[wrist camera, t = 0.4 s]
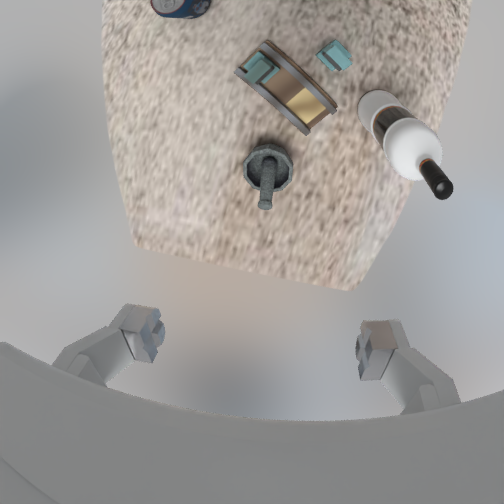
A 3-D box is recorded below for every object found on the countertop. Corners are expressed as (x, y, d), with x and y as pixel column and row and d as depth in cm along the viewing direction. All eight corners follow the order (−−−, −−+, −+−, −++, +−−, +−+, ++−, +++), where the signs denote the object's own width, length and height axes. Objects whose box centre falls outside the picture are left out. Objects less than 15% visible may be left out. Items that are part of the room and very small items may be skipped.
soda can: (175, -8, 31) (145, -14, 23) (211, -14, 30) (188, -25, 22) (177, 21, 36) (148, 21, 28) (212, 16, 35) (190, 12, 27)
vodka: (397, 88, 40) (482, 152, 19) (401, 130, 46) (470, 221, 25) (353, 90, 43) (408, 155, 22) (359, 133, 49) (405, 228, 28)
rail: (235, 72, 44) (223, 79, 37) (267, 40, 38) (262, 40, 32) (303, 131, 51) (304, 150, 44) (336, 104, 45) (344, 118, 39)
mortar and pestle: (248, 134, 53) (237, 159, 45) (294, 137, 52) (293, 162, 44) (249, 180, 61) (239, 212, 53) (290, 183, 60) (289, 216, 52)
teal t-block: (334, 39, 36) (341, 40, 31) (349, 55, 38) (359, 58, 32) (315, 55, 39) (319, 58, 33) (330, 70, 41) (336, 75, 35)
